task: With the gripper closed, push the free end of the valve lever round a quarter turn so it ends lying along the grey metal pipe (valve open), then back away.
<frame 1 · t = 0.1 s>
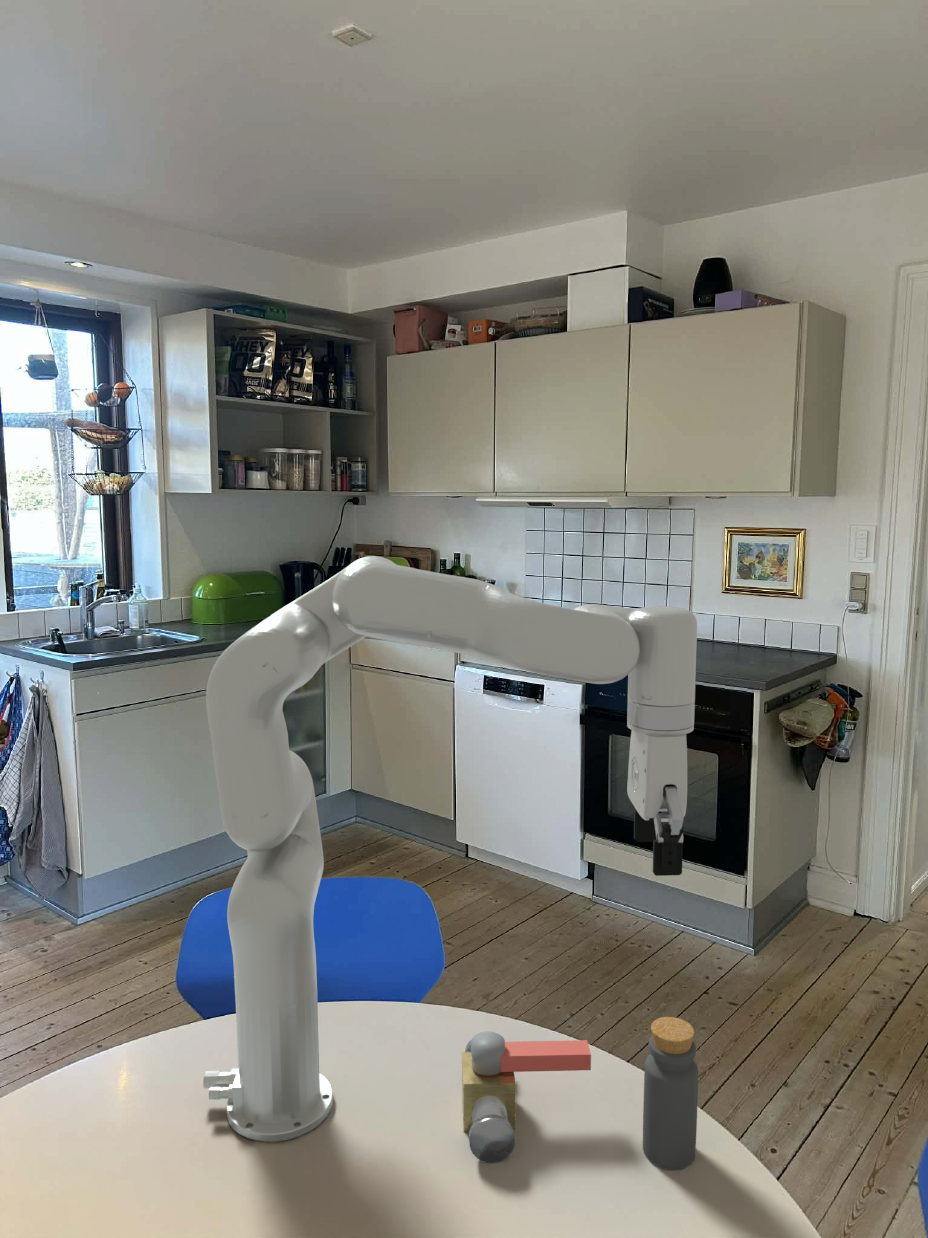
hand: (656, 857, 107), 31 cm above the table, tool pointing down, fingers open, 9 cm apart
lever: (530, 1052, 108), point 8 cm above the table, hinge at 0.0°
valve body: (487, 1113, 109), on the table
bottle: (668, 1153, 103), on the table
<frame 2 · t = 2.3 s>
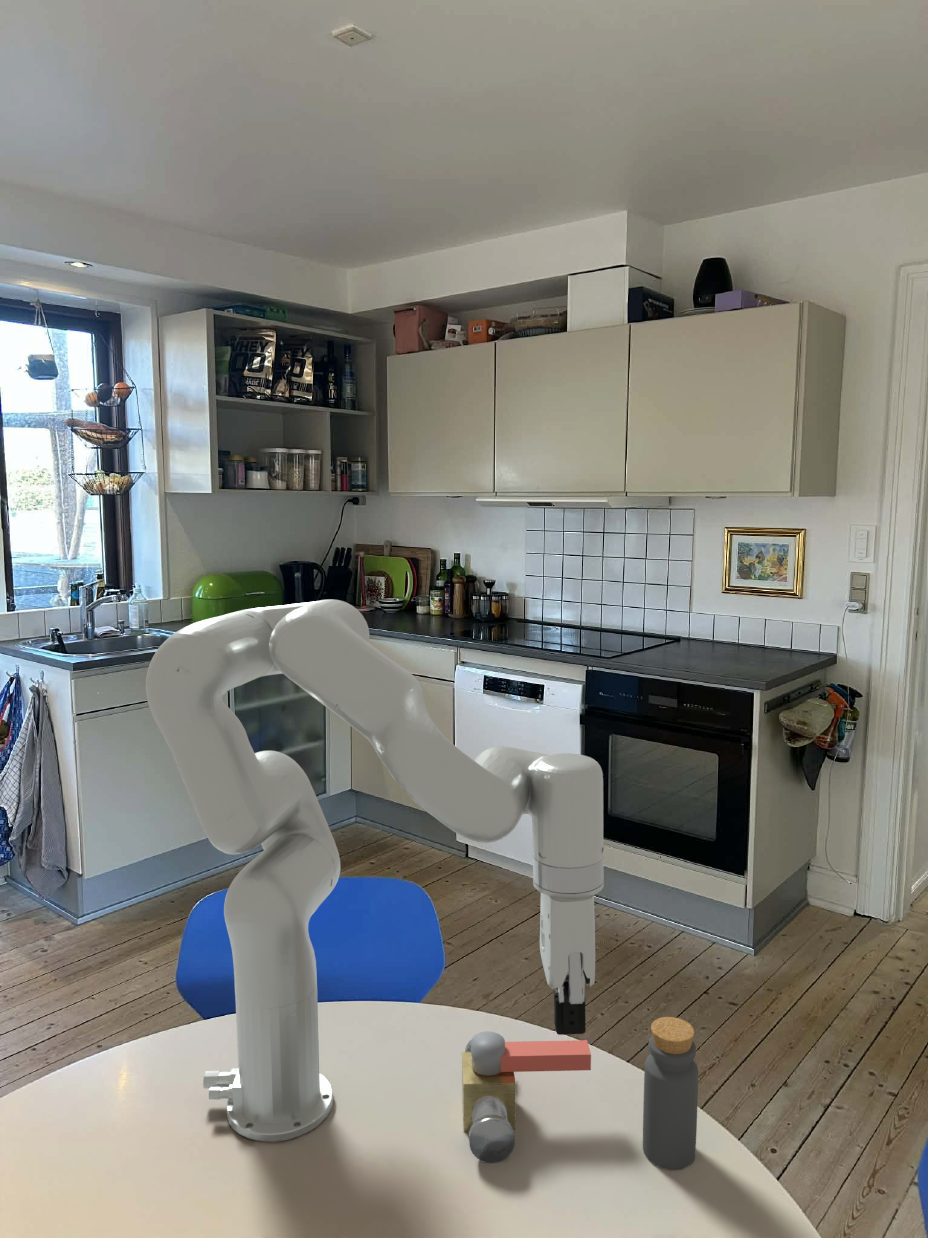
hand: (569, 1030, 100), 15 cm above the table, tool pointing down, fingers closed
nothing on the table moved.
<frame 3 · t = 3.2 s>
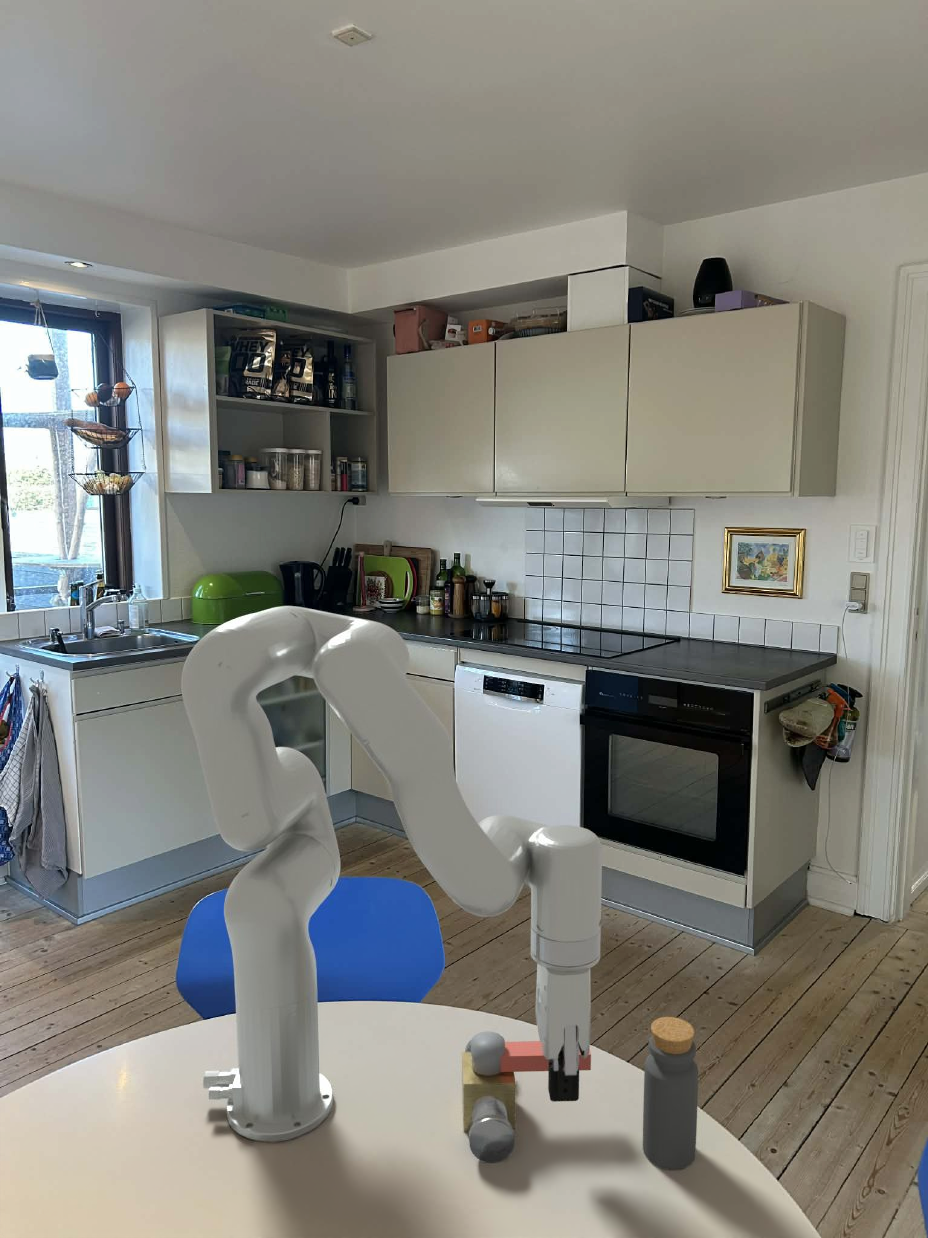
hand: (563, 1096, 102), 7 cm above the table, tool pointing down, fingers closed
nothing on the table moved.
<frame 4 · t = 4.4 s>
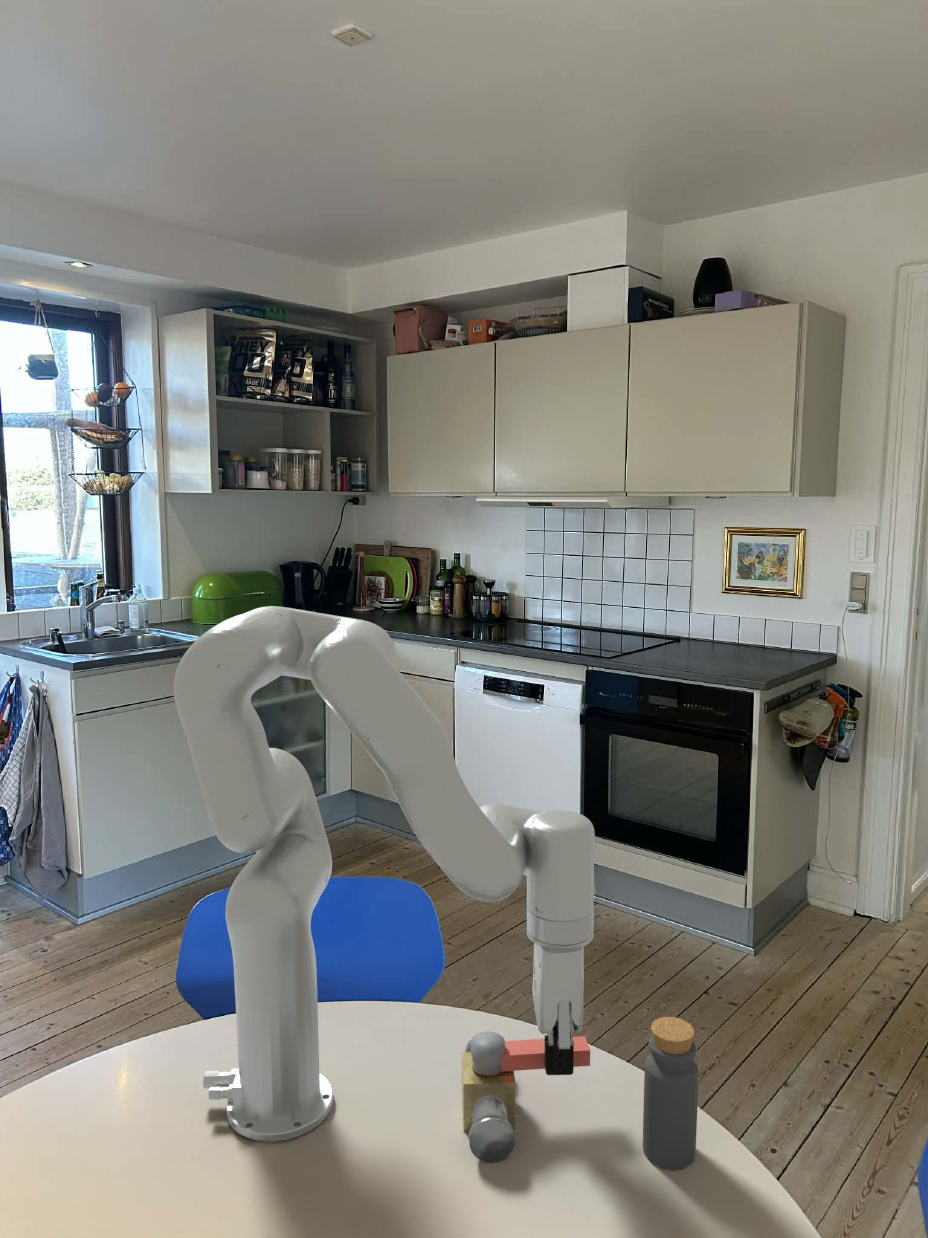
hand: (558, 1070, 106), 7 cm above the table, tool pointing down, fingers closed
lever: (529, 1050, 109), point 8 cm above the table, hinge at 4.0°, touching gripper
everything else where it was.
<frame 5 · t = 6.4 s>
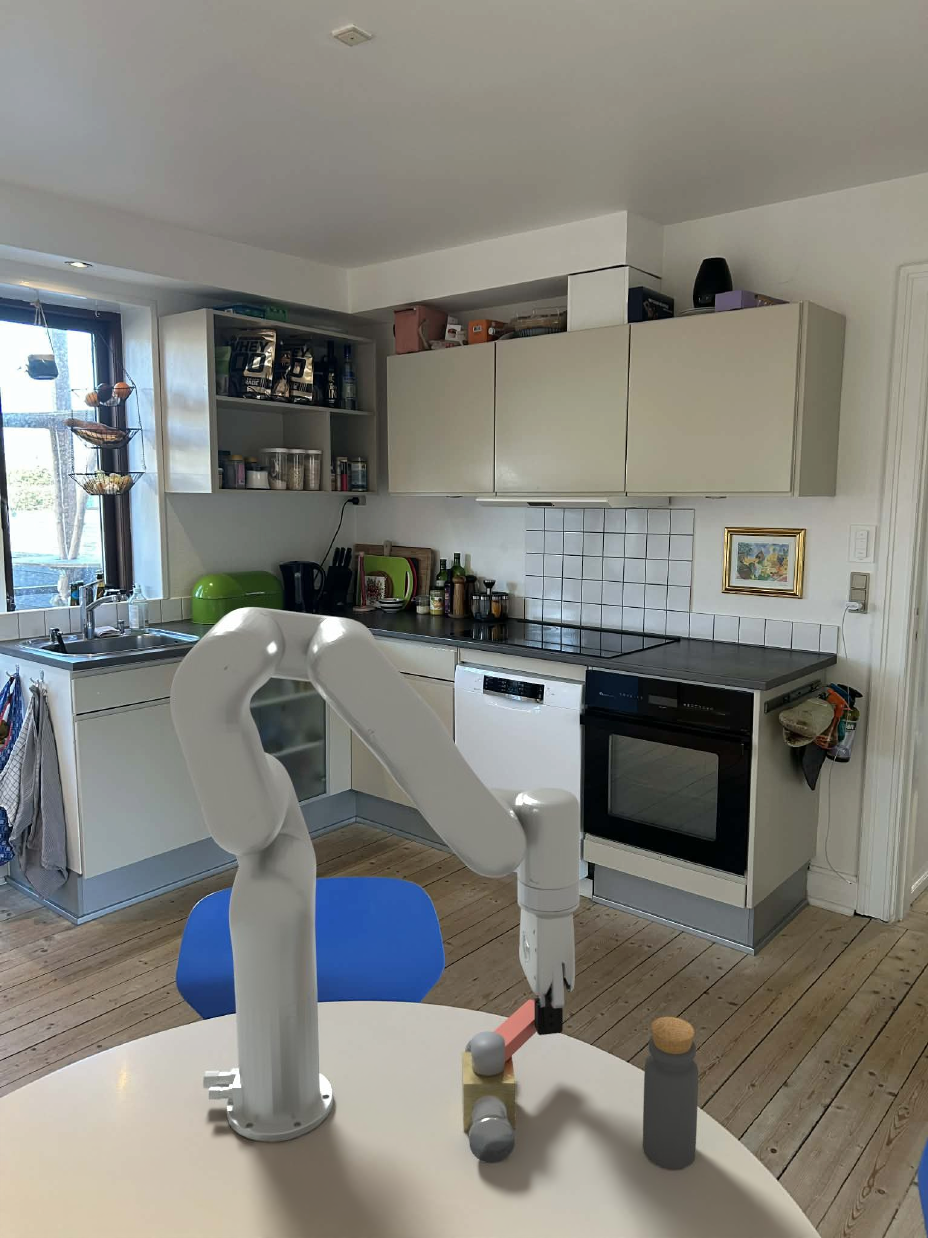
hand: (548, 1030, 114), 7 cm above the table, tool pointing down, fingers closed
lever: (510, 1032, 112), point 8 cm above the table, hinge at 53.8°, touching gripper
everything else where it was.
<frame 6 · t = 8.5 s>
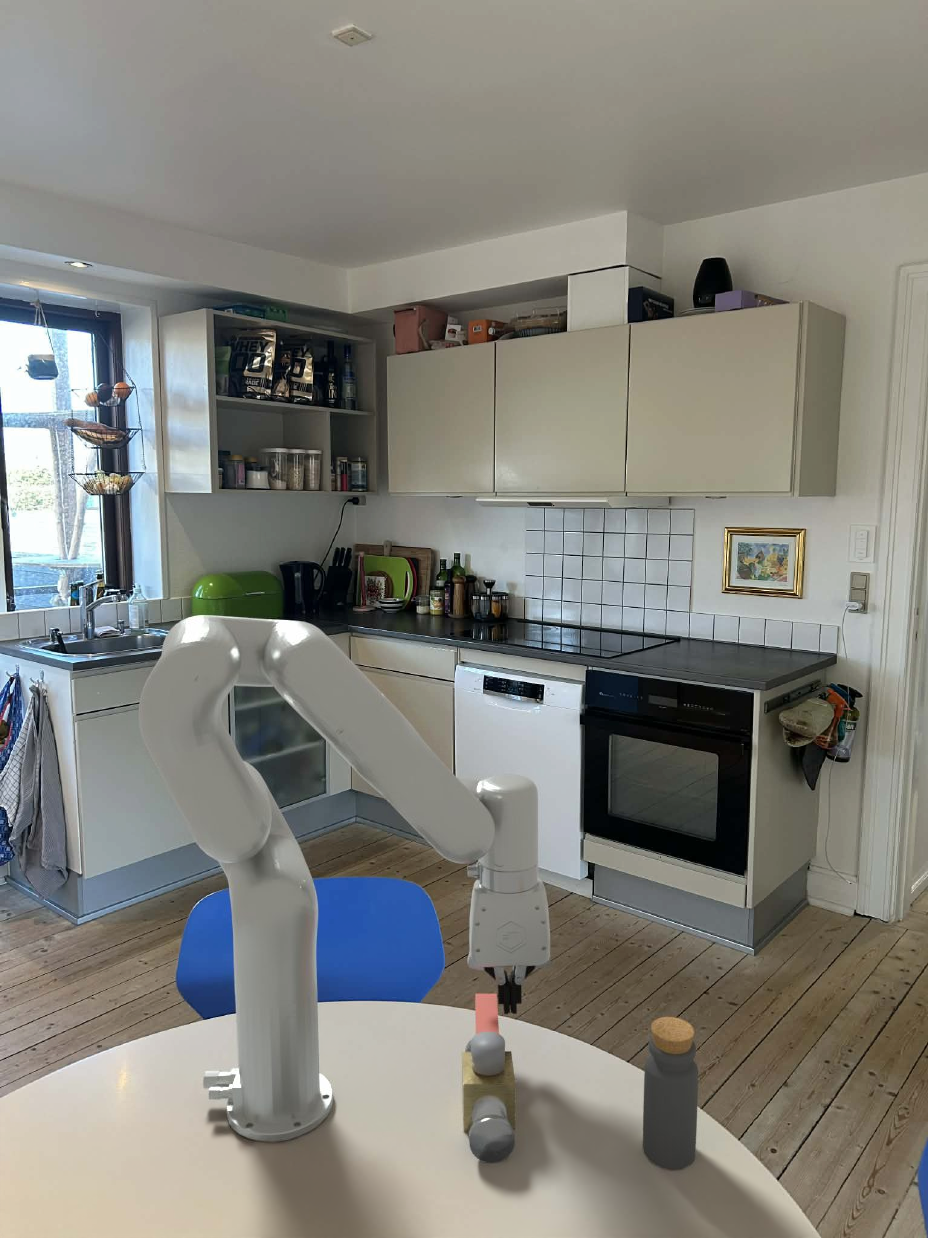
hand: (509, 1008, 118), 7 cm above the table, tool pointing down, fingers closed
lever: (487, 1028, 113), point 8 cm above the table, hinge at 88.1°
everything else where it was.
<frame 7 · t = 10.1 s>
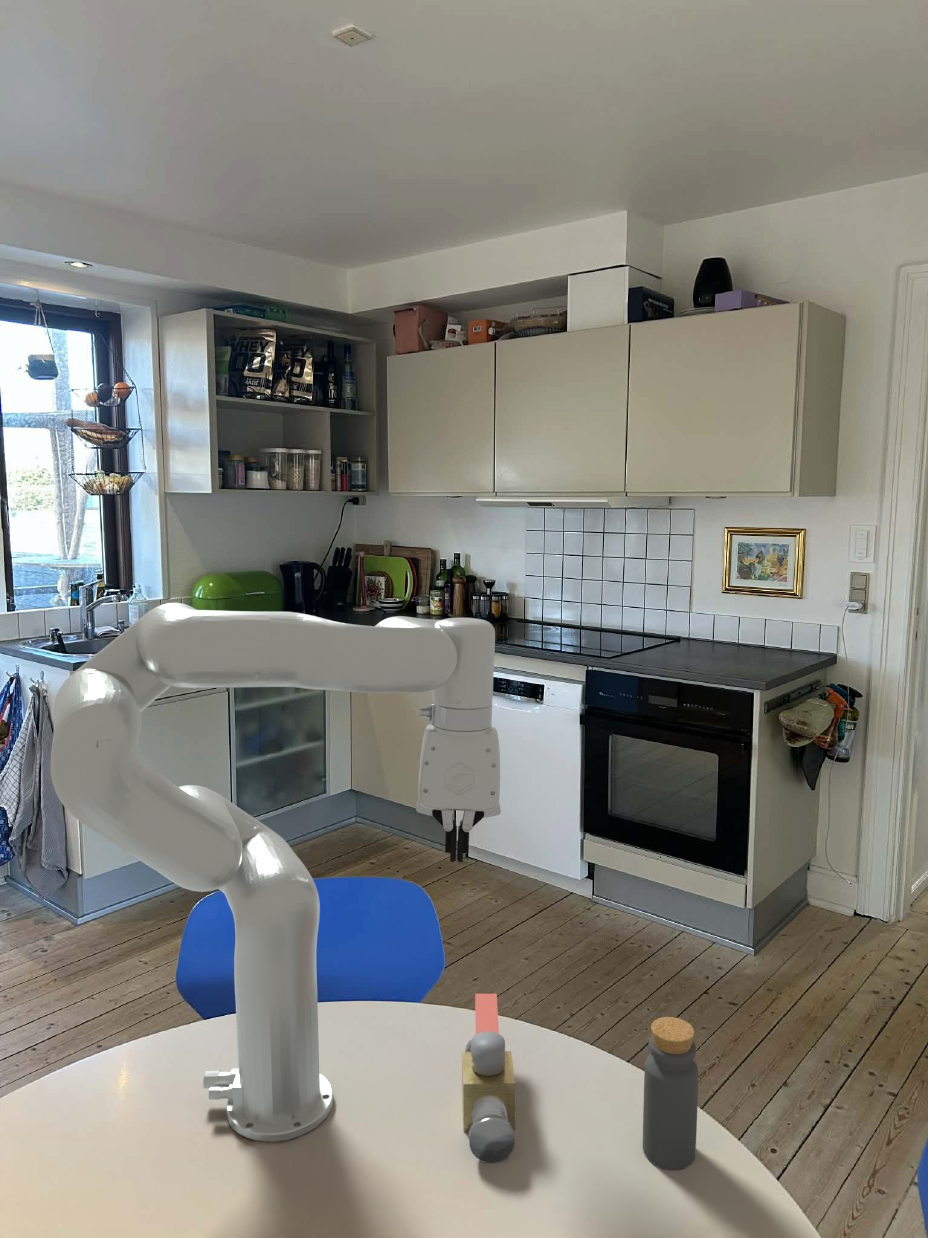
hand: (456, 857, 116), 27 cm above the table, tool pointing down, fingers closed
nothing on the table moved.
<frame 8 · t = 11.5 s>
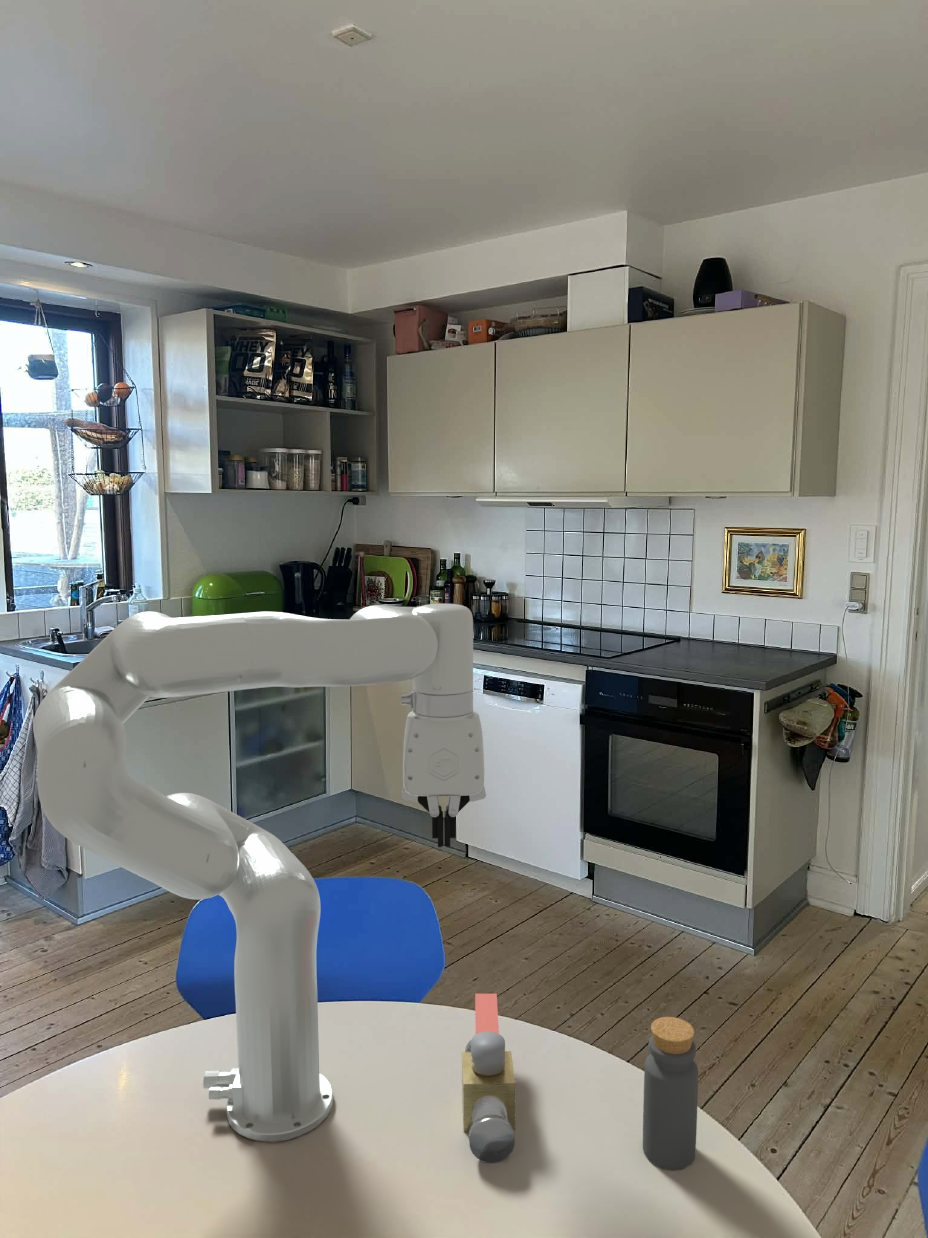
hand: (443, 843, 117), 29 cm above the table, tool pointing down, fingers closed
nothing on the table moved.
at the end: lever at +88° (first picture: +0°); lever touching nothing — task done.
